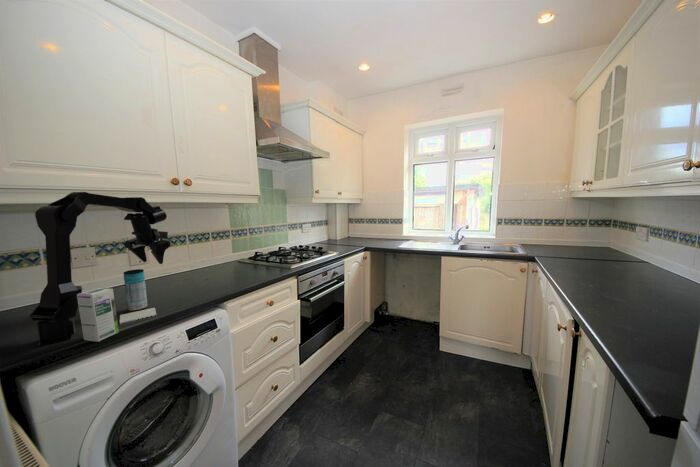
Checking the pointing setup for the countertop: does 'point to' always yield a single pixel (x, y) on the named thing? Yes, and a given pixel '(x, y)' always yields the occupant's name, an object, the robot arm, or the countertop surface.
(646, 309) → the countertop surface
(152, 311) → the mat
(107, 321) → the syrup box
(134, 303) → the teal labeled canister
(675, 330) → the countertop surface
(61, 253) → the robot arm
